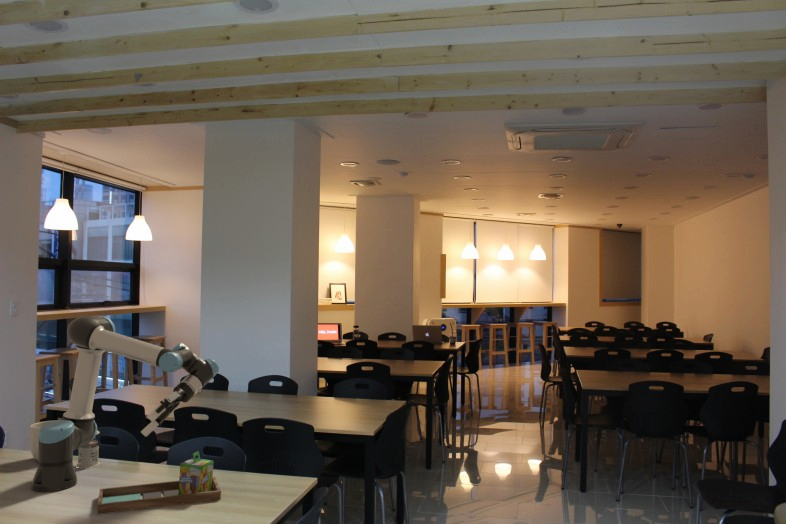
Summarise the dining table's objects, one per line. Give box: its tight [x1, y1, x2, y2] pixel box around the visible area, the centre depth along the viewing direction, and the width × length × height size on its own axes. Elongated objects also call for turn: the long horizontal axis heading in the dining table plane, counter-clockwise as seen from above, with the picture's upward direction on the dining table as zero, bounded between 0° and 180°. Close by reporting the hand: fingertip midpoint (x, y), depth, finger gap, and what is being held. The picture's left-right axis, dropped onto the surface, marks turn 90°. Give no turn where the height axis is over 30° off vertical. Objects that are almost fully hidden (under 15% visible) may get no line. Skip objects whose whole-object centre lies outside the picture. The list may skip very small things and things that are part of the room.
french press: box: [75, 407, 101, 469], centre depth 257 cm, size 10×12×25 cm
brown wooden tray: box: [96, 476, 222, 515], centre depth 216 cm, size 18×40×3 cm, turn 113°
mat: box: [102, 493, 142, 504], centre depth 211 cm, size 14×12×1 cm
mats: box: [142, 489, 179, 499], centre depth 216 cm, size 14×13×1 cm
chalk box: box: [178, 450, 215, 495], centre depth 221 cm, size 9×9×15 cm
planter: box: [29, 419, 60, 461], centre depth 265 cm, size 17×17×15 cm
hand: (146, 427), depth 221 cm, fingers open, 13 cm apart
